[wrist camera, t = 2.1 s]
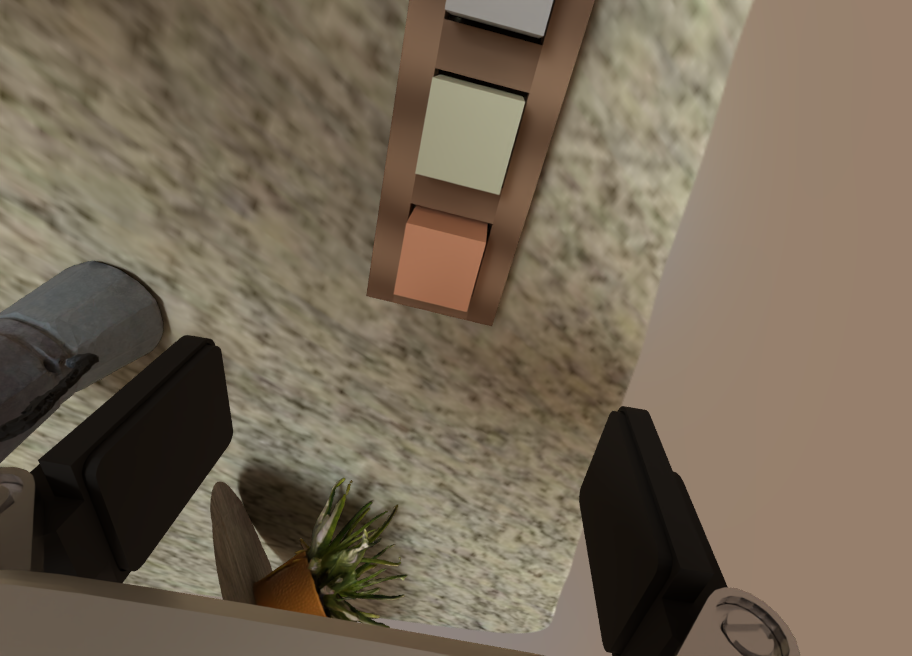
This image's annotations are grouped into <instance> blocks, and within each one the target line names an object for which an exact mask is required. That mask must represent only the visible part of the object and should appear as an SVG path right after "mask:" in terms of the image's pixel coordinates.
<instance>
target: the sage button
mask: <svg viewBox="0 0 912 656" xmlns="http://www.w3.org/2000/svg"><path fill="white" fill-rule="evenodd" d="M524 104H525V101H524V98H523V96H520V95H517V94H513V93H509V92H505V91H502V90H498V89H494V88H490V87H487V86H483V85H479V84H475V83H472V82H468V81H464V80H460V79H456V78H453V77H449V76H445V75H438V76H435V77H432V83H431V88H430V94H429V99H428V105H427V110H426V116H425V122H424V127H423V133H422V138H421V144H420V149H419V155H418V161H417V166H416V172H415V174H419V175H423V176H427V177H431V178H435V179H439V180H443V181H447V182H451V183H455V184H458V185H462V186H466V187H470V188H474V189H478V190H482V191H486V192H490V193H494V194H498V195H499V194H500V191H501V187H502V184H503V180H504V176H505V173H506V169H507V166H508V162H509V158H510V155H511V151H512V148H513V144H514V140H515V137H516V133H517V130H518V126H519V122H520V119H521V115H522V112H523V108H524Z"/></svg>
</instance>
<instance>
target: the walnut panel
mask: <svg viewBox="0 0 912 656" xmlns="http://www.w3.org/2000/svg"><path fill="white" fill-rule="evenodd" d="M594 2H595V0H553V4H552V7H551V11H550V14H549V18H548V22H547V25H546V29H545V32H544V36H543V37H542V39H541V43H540V45H539V44H535V43H531V42H527V41H524V40H520V39H516V38H513V37H509V36H505V35H502V34H498V33H494V32H491V31H487V30H483V29H480V28H476V27H472V26H469V25H465V24H461V23H457V22H454V21H450V20H449V15H450V13H449V12H448V11H446V10H445V4H446V0H409V6H408V13H407V20H406V27H405V34H404V41H403V48H402V55H401V61H400V68H399V75H398V82H397V89H396V96H395V103H394V110H393V116H392V123H391V130H390V137H389V144H388V151H387V158H386V165H385V171H384V178H383V185H382V192H381V199H380V206H379V213H378V220H377V226H376V233H375V240H374V247H373V254H372V261H371V268H370V275H369V281H368V288H367V295H366V296H369V297H373V298H377V299H381V300H386V301H390V302H394V303H398V304H402V305H406V306H410V307H414V308H419V309H423V310H427V311H431V312H435V313H439V314H443V315H447V316H451V317H456V318H460V319H464V320H468V321H472V322H476V323H480V324H484V325H489V326H492V324H493V321H494V318H495V315H496V312H497V309H498V305H499V302H500V299H501V296H502V293H503V290H504V287H505V283H506V280H507V277H508V274H509V271H510V268H511V264H512V261H513V258H514V255H515V252H516V249H517V245H518V242H519V239H520V236H521V233H522V230H523V226H524V223H525V220H526V217H527V214H528V211H529V207H530V204H531V201H532V198H533V195H534V192H535V188H536V185H537V182H538V179H539V176H540V173H541V169H542V166H543V163H544V160H545V157H546V154H547V150H548V147H549V144H550V141H551V138H552V135H553V131H554V128H555V125H556V122H557V119H558V116H559V112H560V109H561V106H562V103H563V100H564V97H565V93H566V90H567V87H568V84H569V81H570V78H571V74H572V71H573V68H574V65H575V62H576V59H577V55H578V52H579V49H580V46H581V43H582V40H583V37H584V33H585V30H586V27H587V24H588V21H589V18H590V14H591V11H592V8H593V5H594ZM439 69H441V70H445V71H449V72H452V73H456V74H460V75H464V76H467V77H471V78H475V79H479V80H482V81H486V82H490V83H494V84H497V85H501V86H505V87H509V88H512V89H516V90H520V91H524V92H527V94H526V97H525V104H524V108H523V112H522V115H521V119H520V122H519V126H518V130H517V133H516V137H515V140H514V144H513V148H512V151H511V155H510V158H509V162H508V166H507V169H506V173H505V176H504V180H503V184H502V187H501V191H500V194H499V195H498V194H494V193H490V192H486V191H482V190H478V189H474V188H470V187H466V186H462V185H458V184H455V183H451V182H447V181H443V180H439V179H435V178H431V177H427V176H423V175H419V174H415V172H416V166H417V161H418V155H419V149H420V144H421V138H422V133H423V127H424V122H425V116H426V110H427V105H428V99H429V94H430V88H431V83H432V77H435V76H438V75H439ZM415 204H416V205H420V206H424V207H428V208H432V209H436V210H439V211H443V212H447V213H451V214H455V215H459V216H463V217H467V218H471V219H475V220H479V221H483V222H487V223H491V224H490V227H489V231H488V234H487V238H486V245H485V248H484V252H483V256H482V259H481V263H480V266H479V270H478V274H477V277H476V281H475V284H474V288H473V292H472V295H471V299H470V302H469V306H468V310H467V312H464V311H460V310H456V309H452V308H448V307H444V306H440V305H436V304H432V303H427V302H423V301H419V300H415V299H411V298H407V297H403V296H399V295H395V294H394V289H395V283H396V278H397V272H398V267H399V261H400V256H401V250H402V244H403V239H404V233H405V228H406V223H407V221H408V219H409V217H410V215H411V214H412V212H413V210H414V205H415Z"/></svg>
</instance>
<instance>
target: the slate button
mask: <svg viewBox="0 0 912 656" xmlns="http://www.w3.org/2000/svg"><path fill="white" fill-rule="evenodd" d="M552 4H553V0H446V4H445V10H446V11H448V12H449V13H450V14H451V15H454V16H457V17H461V18H465V19H468V20H472V21H476V22H479V23H483V24H487V25H490V26H494V27H498V28H501V29H505V30H509V31H512V32H516V33H520V34H523V35H527V36H531V37H535V38H540V37H543V36H544V32H545V29H546V25H547V22H548V18H549V14H550V11H551V7H552Z"/></svg>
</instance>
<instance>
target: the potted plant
mask: <svg viewBox="0 0 912 656" xmlns="http://www.w3.org/2000/svg"><path fill="white" fill-rule="evenodd" d="M344 480H345V478H343V479H341V480H340V481H338V482H337V483H336V484H335V485H334V486H333V487H332V491H331V494H330V497H329V499H328V501H327V503H326V505H325V507H324V509H323V511H322V512H321V514H320V515H319V517H318V519H317V521H316V523H315V526H314V528H313V532H312V541H311V547H310V548H309V546H308V545H307V544H306V543H305V542H304V541H303V539H300V542H301V546H302V547H303V550H300V551H297V552H295V554H296V555H295V556H294V557H293V558H292V559H290V560H288V561H287V562H286V563H284V564H283V565H281V566H280V567H278V568H277V569H275V570H274V571H272V568H271V565H270V562H269V560H268V558H267V555H266V553H265V551H264V549H263V547H262V545H261V542H260V540H259V538H258V535H257V533H256V531H255V529H254V526H253V524H252V522H251V520H250V518H249V516H248V514H247V512H246V510H245V508H244V506H243V503H242V501H241V500H240V499H239V498H238V497H237V495H236V494H235V493H234V492H233V490H232V489H231V488H230V487H229V486H228V485H227V484H226V483H224V482H217V483H216V484H215V485H214V487H213V490H212V496H211V504H210V512H211V519H212V532H213V543H214V553H215V560H216V566H217V573H218V578H219V584H220V588H221V593H222V597H223V600H228V601H234V602H240V603H246V604H252V605H258V606H264V607H270V608H275V609H281V610H287V611H293V612H299V613H305V614H311V615H317V616H322V617H328V618H334V619H340V620H346V621H352V622H357V621H358V622H361V623H363V624H369V625H375V626H381V627H387V628H390V627H389V626H386V625H385V624H383V623H378V622H375V621H373V620H371V619H374V618H375V619H376V618H379V617H380V616H379V615H375V614H371V613H365V612H361V611H358V610H356V609H355V608H354V607H352V606H351V605H350V604H349V603H348V602H346V601H345V600H350V599H356V598H361V599H385V600H395V599H399V598H402V597H404V596H405V595H404V594H403V595H399V596H385V595H374V594H373V593H376V592H378V591H380V590H381V588H375V589H372V590H368V591H365V592H361V593H356V592H357V590H358V591H360V589H363V587H367V586H371V585H373V584H377V583H380V582H382V581H386V580H389V579H390V580H392V579H397V578H400V579H402V580H404V579H405V578H406V577H407V575H397V576H390V577H386V578H380V579H376V578H373V577H375V576H377V575H378V574H379V573H381V572H382V571H385V570H386V569H387V568H385V569H381V570H379V571H378V572H376V573H374V574H372V575H371V576H369V577H366V578H365V579H362V580H360V581H358V580H356V579H357V578H359V577H360V575H361V574H363V573H365V572H367V571H368V570H373V569H374V568H375V567H376V566H377V564H383V565H389V566H399V565H400V564H401V562H399V563H393V562H389V561H386V560H381V559H376V558H377V557H379V556H380V555H382V554H383V553H384V552H385V551H386V549H387V548H388V547H389V546H387V548H385V549H384V550H382V551H381V552H379V553H378V554H377V555H375V556H374V557H372V558H363V556H364V553H365V552H366V550H367V549H368V548H369V547H372V546H373V545H375V544H377V543H378V542H380V540H381V539H382V538H380V539H378V540H375V539H376V538H377V537H378V536H379V535H380V534H381V533H382V532H383V531H384V529H385V528H386V527H387V525H388V524H389V523H390V521H391V519H392V517H393V516H394V514H395V512H396V510H397V507H398V505H396V506H394V508H393V511H392V512H391V514H390V515H389V516H388V518H387V520H386V521H385V523H384V524H383V525H382V526H381V527H379V528H378V529H377V531H376V532H374V531H375V530H376V529H373V530H370V531H368V532H367V531H366V529H365V528H367V527H368V526H369V525H370V524H371V523H372V522H373V521H376V520H377V519H378V518H380V517H381V516H383V515H384V514H385V513H387V512H388V511H385V512H384V513H381V514H380V515H378V516H376V517H375V518H373V519H372V520H370V522H368V523H366V524H365V525H364V526H363V527H362V528H360V529H359V530H358V531H356V532H354V533H353V534H352V535H351V533H352V532H353V530H354V528H355V527H356V526H357V524H358V523H359V521H361V520H362V518H363V517H364V516H365V515H366V514H367V513H368V511H369V510H370V508H368V509H366V508H367V507H368V506H369V505H371V504H372V502H369V503H368V504H366V505H365V506H363V507H362V508H361V509H360V510H359V511H358V512H357V513H356V514H355V515H354V517H353V518H352V519H351V520H350V521H349V522H348V524H347V525H346V526H345V527H344V528H343V529H342V530H341V531H340V533H339V534H338V535H337V536H336V538H335V539H334V540H333V541H332V543H331V540H332V537H333V533H334V531H335V528H336V526H337V522H338V520H339V518H340V514H341V512H342V509H343V507H344V504H345V500H346V495H348V492H349V490H350V485H351V484H348V486H347V490H346V494H344V495H343V497H342V498H341V499H340V501H339V502H338V503H337V504H336V506H335V508H334V510H333V512H332V514H331V516H329V514H330V510H331V506H332V502H333V497H334V495H335V489H336V488H337V487H338V486H339V485H340V484H341V483H342V482H343V481H344ZM352 482H353V481H352V480H351V481H350V483H352ZM365 509H366V510H365ZM364 510H365V511H364ZM363 511H364V512H363ZM362 512H363V514H362V515H361V513H362ZM360 515H361V516H360ZM358 516H360V517H359V518H358ZM357 518H358V519H357ZM356 519H357V520H356ZM355 520H356V521H355ZM354 522H355V523H354ZM353 523H354V524H353ZM352 524H353V525H352ZM351 525H352V526H351ZM350 527H351V528H350ZM348 530H349V531H348ZM363 530H364V532H363V535H361V536H360V537H356V536H358V535H359V534H360V533H361V532H362V531H363ZM347 531H348V532H347ZM346 532H347V534H346ZM370 532H374V533H373V534H372V535H371V536H370V537H369V538H368V534H369V533H370ZM345 534H346V535H345ZM344 535H345V537H344V538H343V536H344ZM350 535H351V536H350ZM342 538H343V540H342V541H341V539H342ZM361 538H362V541H361V542H360V543H358V544H357V545H355V546H353V547H351V548H349V549H347V548H348V547H349V546H350V545H351V544H353V543H354V542H356V541H358V540H359V539H361ZM340 541H341V542H340ZM373 541H374V543H373ZM330 543H331V544H330ZM339 543H340V544H339ZM329 544H330V545H329ZM394 546H395V544H393V545H391V546H390V547H389V548H391V547H394ZM399 560H401V557H399ZM360 562H366V563H365V564H363V565H362V566H360V567H359V568H357V569H356V570H355V568H356V567H357V565H358V564H359V563H360ZM370 563H377V564H372V565H371V564H370ZM371 578H373V579H372V580H370V581H368V582H365V581H367V580H369V579H371ZM375 579H376V580H375ZM342 597H345V598H342Z"/></svg>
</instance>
